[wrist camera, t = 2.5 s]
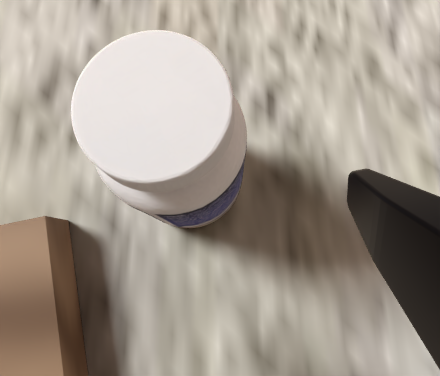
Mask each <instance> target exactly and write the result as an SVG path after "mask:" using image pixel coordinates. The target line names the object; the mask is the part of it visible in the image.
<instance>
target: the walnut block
mask: <svg viewBox="0 0 440 376" xmlns="http://www.w3.org/2000/svg"><path fill="white" fill-rule="evenodd" d="M0 376H88V370H87V362H86V354H85V346H84V338H83V331H82V323H81V315H80V307H79V300H78V292H77V284H76V276H75V268H74V261H73V253H72V245H71V237H70V230H69V222H68V220H63V219H58V218H52V217H47V216H43V217H38V218H33V219H29V220H24V221H19V222H14V223H9V224H4V225H0Z"/></svg>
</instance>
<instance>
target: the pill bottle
mask: <svg viewBox="0 0 440 376" xmlns="http://www.w3.org/2000/svg"><path fill="white" fill-rule="evenodd" d="M71 118H72V125H73V129H74V133H75V136H76V139H77V141H78V143H79V145H80V147H81V149H82V151H83V152H84V153H85V155H86V156H87V157H88V158H89V160H90V161H91V162H92V163H93V164H95V167H96V170H97V172H98V174H99V176H100V177H101V179H102V180H103V182H104V183H105V185H106V186H107V187H108V188H109V189H110V191H112V192H113V193H114V194H115V195H116V196H117V197H118V198H120V199H121V200H122V201H124V202H125V203H127V204H128V205H130V206H131V207H133V208H135V209H137V210H140V211H142V212H144V213H146V214H148V215H150V216H152V217H154V218H156V219H158V220H160V221H162V222H164V223H167V224H170V225H172V226H176V227H181V228H196V227H201V226H205V225H207V224H210V223H212V222H214V221H216V220H218V219H219V218H220V217H222V216H223V215H224V214H225V213H226V212H227V211H228V210H229V209H230V208H231V207H232V205H233V204H234V202H235V200H236V198H237V196H238V194H239V191H240V188H241V183H242V177H243V169H244V161H245V155H246V148H247V130H246V124H245V119H244V115H243V113H242V110H241V107H240V105H239V103H238V101H237V100H236V98H235V97H234V95H233V89H232V86H231V82H230V79H229V77H228V74H227V72H226V70H225V68H224V67H223V65H222V64H221V62H220V61H219V59H218V58H217V57H216V56H215V55H214V54H213V53H212V52H211V51H210V50H209V49H208V48H207V47H206V46H204V45H203V44H201V43H200V42H198V41H196V40H195V39H193V38H191V37H188V36H186V35H183V34H180V33H176V32H171V31H164V30H150V31H142V32H137V33H133V34H130V35H127V36H124V37H122V38H119V39H118V40H115V41H114V42H112V43H110V44H109V45H107V46H106V47H104V48H103V49H102V50H101V51H99V52H98V53H97V54H96V55H95V56H94V57H93V58H92V59H91V60H90V62H89V63H88V64H87V65H86V67H85V68H84V70H83V71H82V73H81V75H80V76H79V79H78V81H77V83H76V86H75V89H74V92H73V97H72V103H71Z"/></svg>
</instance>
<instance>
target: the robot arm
mask: <svg viewBox="0 0 440 376" xmlns="http://www.w3.org/2000/svg"><path fill="white" fill-rule="evenodd" d="M347 203H348V207H349V210H350V212H351V214H352V216H353V218H354V221H355V223H356V225H357V227H358V229H359V231H360V234H361V236H362V238H363V240H364V242H365V244H366V247H367V249H368V251H369V253H370V255H371V257H372V259H373V261H374V263H375V264H376V266H377V268H378V270H379V271H380V273H381V274H382V276H383V278H384V279H385V281H386V283H387V284H388V286H389V288H390V289H391V291H392V292H393V294H394V296H395V297H396V299H397V301H398V302H399V304H400V305H401V307H402V309H403V310H404V312H405V314H406V315H407V317H408V319H409V320H410V322H411V323H412V325H413V327H414V328H415V330H416V332H417V333H418V335H419V336H420V338H421V340H422V341H423V343H424V345H425V346H426V348H427V350H428V351H429V353H430V354H431V356H432V358H433V359H434V361H435V363H436V364H437V366H438V367H439V369H440V197H439V196H436V195H434V194H431V193H429V192H426V191H424V190H421V189H419V188H416V187H413V186H411V185H408V184H406V183H403V182H401V181H398V180H396V179H393V178H390V177H388V176H385V175H383V174H380V173H378V172H375V171H373V170H370V169H361V170H356V171H352V172H351V173H350V174H349V177H348V191H347Z"/></svg>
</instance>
